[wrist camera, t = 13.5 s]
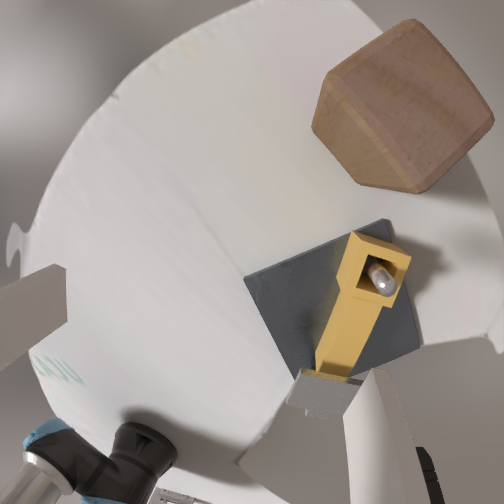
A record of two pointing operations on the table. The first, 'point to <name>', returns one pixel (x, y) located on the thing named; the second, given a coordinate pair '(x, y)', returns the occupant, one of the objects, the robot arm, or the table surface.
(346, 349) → the link
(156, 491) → the cassette
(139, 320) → the table surface
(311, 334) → the base
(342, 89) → the wooden block
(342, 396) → the block
